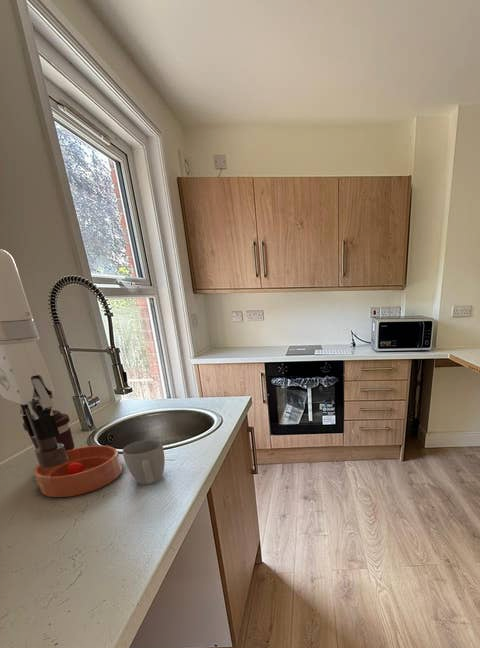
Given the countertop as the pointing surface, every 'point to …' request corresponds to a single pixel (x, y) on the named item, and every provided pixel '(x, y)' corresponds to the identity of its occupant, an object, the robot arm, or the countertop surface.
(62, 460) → the pestle
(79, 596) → the countertop surface
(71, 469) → the tomato
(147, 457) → the mug
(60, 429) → the coffee cup
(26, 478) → the countertop surface
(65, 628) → the countertop surface
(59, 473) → the bowl
